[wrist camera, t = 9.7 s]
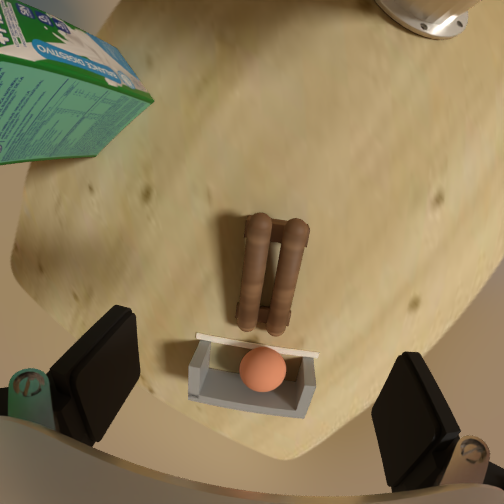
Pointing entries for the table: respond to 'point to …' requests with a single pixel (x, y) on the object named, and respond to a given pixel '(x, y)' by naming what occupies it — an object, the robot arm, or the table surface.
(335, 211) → the table surface
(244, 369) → the ball
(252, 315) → the brown piece
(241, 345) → the line
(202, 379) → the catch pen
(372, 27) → the table surface
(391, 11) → the robot arm
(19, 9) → the milk carton
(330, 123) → the table surface
